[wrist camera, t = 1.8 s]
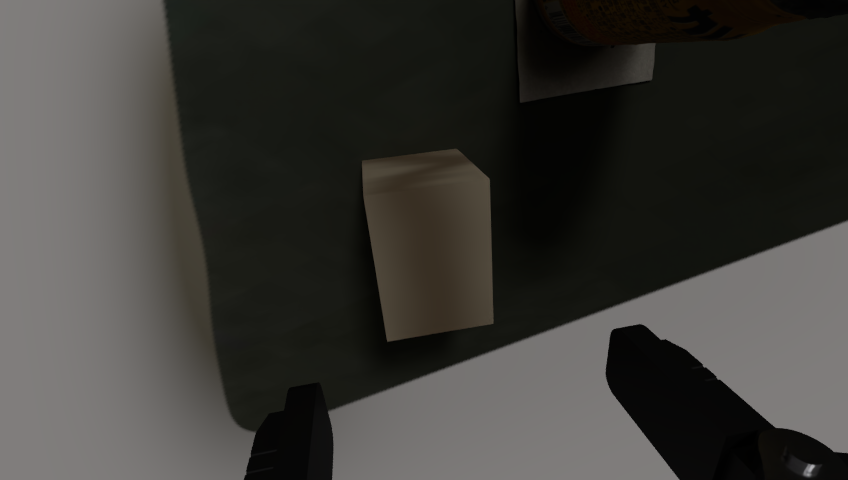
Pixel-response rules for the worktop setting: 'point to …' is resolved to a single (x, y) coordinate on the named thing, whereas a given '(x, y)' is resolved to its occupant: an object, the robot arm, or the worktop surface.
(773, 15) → the condiment
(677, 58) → the worktop surface
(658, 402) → the robot arm
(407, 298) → the block
